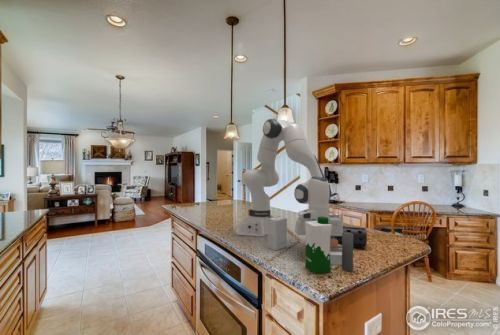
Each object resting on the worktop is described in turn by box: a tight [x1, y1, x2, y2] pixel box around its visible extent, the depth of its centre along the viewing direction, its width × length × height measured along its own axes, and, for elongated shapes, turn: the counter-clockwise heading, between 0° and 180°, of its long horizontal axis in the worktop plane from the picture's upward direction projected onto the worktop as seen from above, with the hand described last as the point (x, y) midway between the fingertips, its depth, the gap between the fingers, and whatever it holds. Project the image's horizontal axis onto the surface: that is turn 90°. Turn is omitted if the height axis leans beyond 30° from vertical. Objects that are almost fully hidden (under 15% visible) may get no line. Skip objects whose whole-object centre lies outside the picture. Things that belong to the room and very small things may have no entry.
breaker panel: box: [330, 244, 342, 266], centre depth 104 cm, size 11×14×6 cm
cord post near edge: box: [341, 232, 354, 273], centre depth 92 cm, size 4×4×14 cm
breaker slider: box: [330, 239, 339, 249], centre depth 103 cm, size 3×3×4 cm
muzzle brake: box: [335, 225, 368, 249], centre depth 123 cm, size 10×28×10 cm, turn 73°
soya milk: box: [304, 217, 332, 274], centre depth 92 cm, size 9×9×20 cm
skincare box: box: [267, 215, 288, 251], centre depth 117 cm, size 8×6×15 cm
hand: (318, 245), depth 103 cm, fingers closed
